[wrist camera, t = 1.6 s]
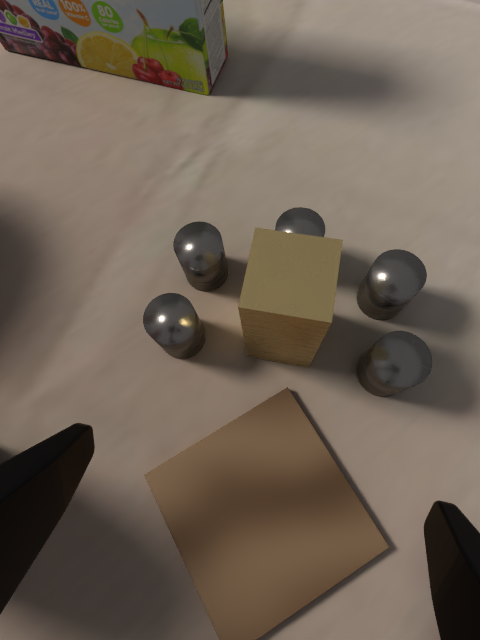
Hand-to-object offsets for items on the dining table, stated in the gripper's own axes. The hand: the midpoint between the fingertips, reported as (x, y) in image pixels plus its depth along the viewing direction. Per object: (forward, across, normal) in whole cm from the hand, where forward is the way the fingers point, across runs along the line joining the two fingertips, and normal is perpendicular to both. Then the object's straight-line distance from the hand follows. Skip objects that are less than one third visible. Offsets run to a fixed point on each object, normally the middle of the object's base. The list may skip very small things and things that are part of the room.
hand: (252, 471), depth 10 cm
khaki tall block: (+15, 0, +4) cm, 16 cm away
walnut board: (+8, -1, +11) cm, 14 cm away
